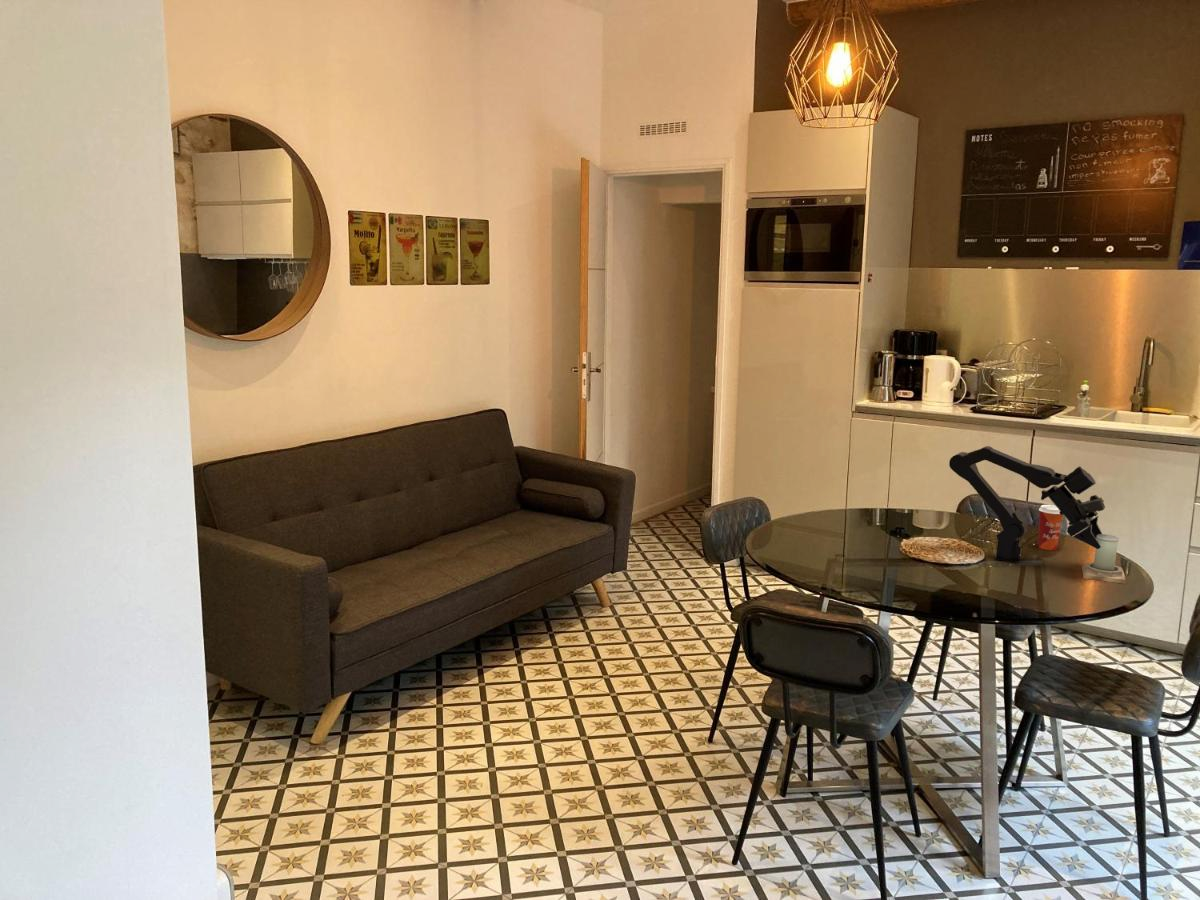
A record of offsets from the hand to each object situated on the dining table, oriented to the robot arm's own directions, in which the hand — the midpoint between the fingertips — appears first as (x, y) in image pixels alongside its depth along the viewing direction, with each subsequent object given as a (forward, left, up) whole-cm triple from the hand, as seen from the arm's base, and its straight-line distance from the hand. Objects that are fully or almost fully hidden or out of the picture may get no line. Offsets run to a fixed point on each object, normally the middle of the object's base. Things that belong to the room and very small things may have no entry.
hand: (1101, 544), depth 283 cm
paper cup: (-14, +25, -10) cm, 30 cm away
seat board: (+1, 0, -9) cm, 10 cm away
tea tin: (+1, 0, -8) cm, 8 cm away
